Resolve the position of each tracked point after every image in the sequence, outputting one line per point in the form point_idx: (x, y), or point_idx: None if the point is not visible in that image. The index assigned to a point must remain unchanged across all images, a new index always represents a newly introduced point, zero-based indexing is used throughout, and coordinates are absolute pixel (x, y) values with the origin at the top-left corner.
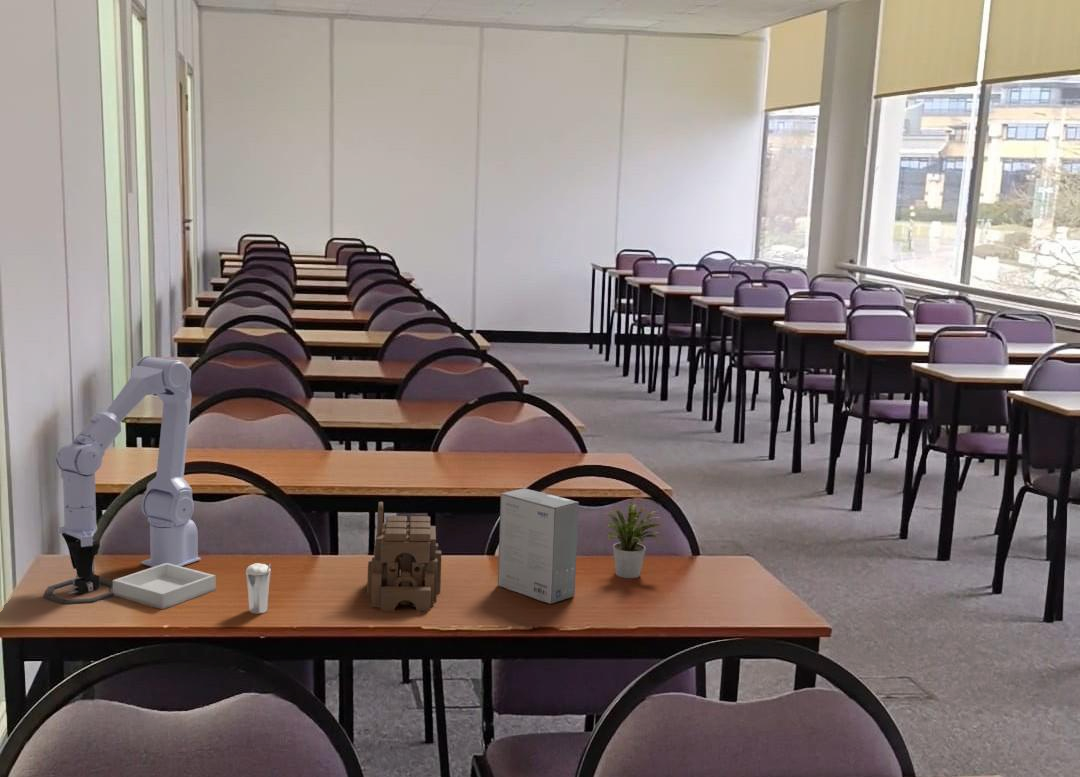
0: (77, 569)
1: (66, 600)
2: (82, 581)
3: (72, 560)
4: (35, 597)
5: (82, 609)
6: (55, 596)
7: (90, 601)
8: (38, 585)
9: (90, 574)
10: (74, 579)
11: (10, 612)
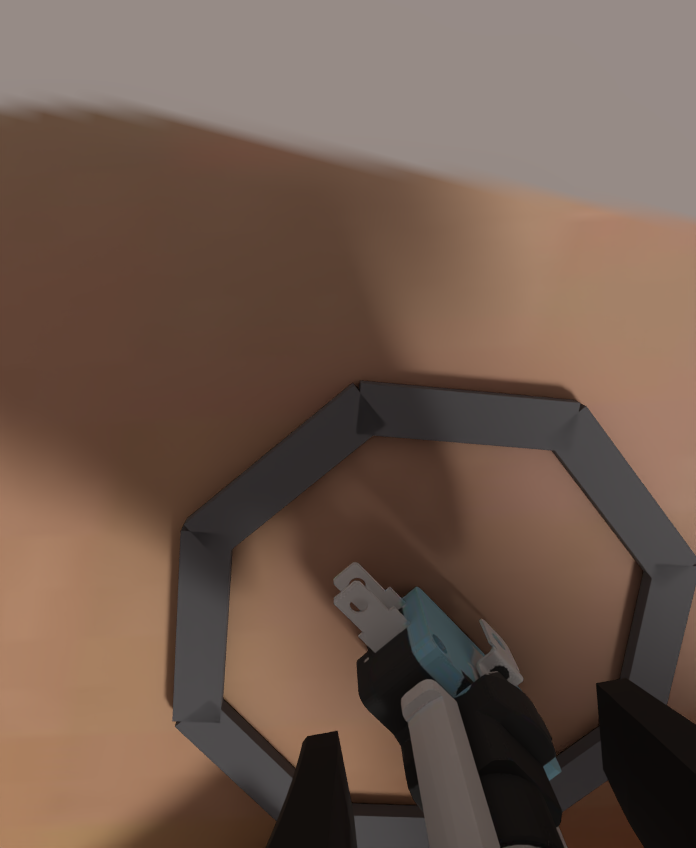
0: (286, 803)
1: (210, 551)
2: (374, 714)
3: (645, 737)
4: (397, 313)
5: (38, 652)
6: (325, 470)
7: (173, 703)
8: (692, 325)
9: (421, 807)
10: (434, 656)
11: (53, 122)
